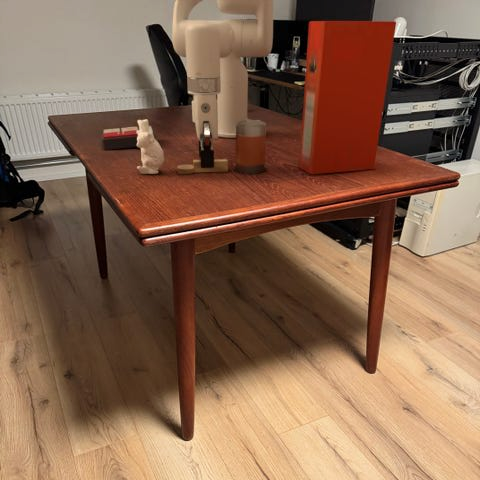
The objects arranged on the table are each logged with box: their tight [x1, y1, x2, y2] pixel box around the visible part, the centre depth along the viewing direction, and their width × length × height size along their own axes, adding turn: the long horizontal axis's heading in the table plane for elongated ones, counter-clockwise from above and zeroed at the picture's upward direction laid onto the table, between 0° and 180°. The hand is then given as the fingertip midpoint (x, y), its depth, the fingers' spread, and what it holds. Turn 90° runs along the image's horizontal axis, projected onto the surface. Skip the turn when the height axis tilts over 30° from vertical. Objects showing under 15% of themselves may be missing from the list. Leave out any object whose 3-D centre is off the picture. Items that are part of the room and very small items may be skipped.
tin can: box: [235, 119, 267, 175], centre depth 117 cm, size 7×7×11 cm
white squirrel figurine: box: [136, 119, 165, 175], centre depth 115 cm, size 8×7×12 cm
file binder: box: [298, 20, 397, 176], centre depth 113 cm, size 8×17×32 cm, turn 108°
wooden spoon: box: [176, 158, 229, 175], centre depth 118 cm, size 12×4×3 cm, turn 96°
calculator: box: [101, 125, 157, 151], centre depth 141 cm, size 11×4×15 cm
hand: (206, 162), depth 118 cm, fingers open, 9 cm apart
